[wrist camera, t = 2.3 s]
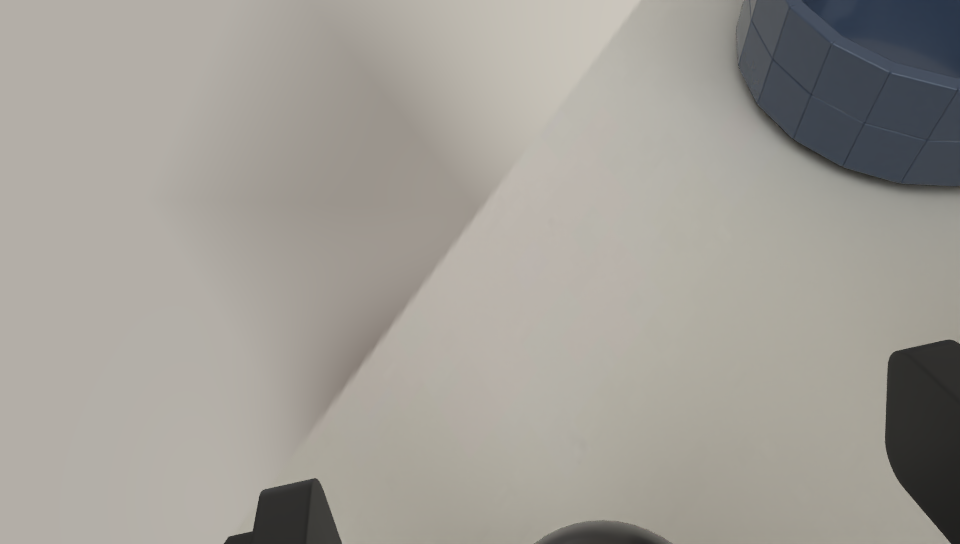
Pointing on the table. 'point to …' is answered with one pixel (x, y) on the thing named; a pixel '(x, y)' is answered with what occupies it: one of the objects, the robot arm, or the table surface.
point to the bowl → (861, 81)
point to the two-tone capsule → (602, 534)
